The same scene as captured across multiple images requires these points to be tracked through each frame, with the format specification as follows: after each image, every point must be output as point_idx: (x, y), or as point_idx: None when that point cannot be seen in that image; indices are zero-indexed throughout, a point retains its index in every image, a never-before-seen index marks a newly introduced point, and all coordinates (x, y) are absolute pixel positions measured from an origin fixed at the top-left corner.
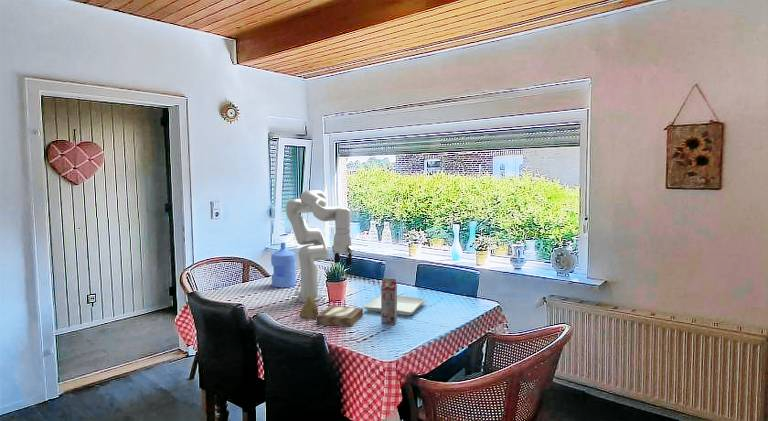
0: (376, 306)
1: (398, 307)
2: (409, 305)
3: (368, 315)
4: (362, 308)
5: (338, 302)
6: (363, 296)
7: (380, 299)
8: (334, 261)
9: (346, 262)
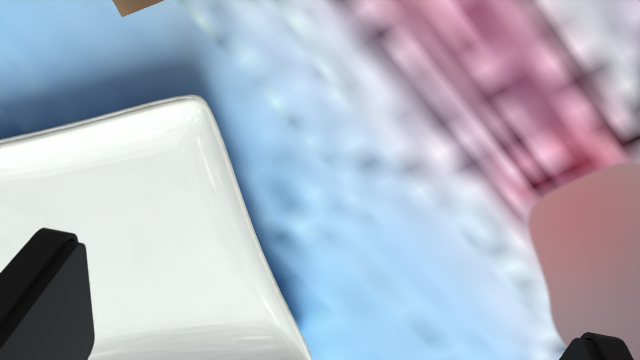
0: (215, 206)
1: (110, 259)
2: (96, 311)
3: (126, 34)
4: (117, 8)
5: (546, 174)
6: (461, 343)
7: (277, 308)
8: (629, 355)
9: (6, 278)
